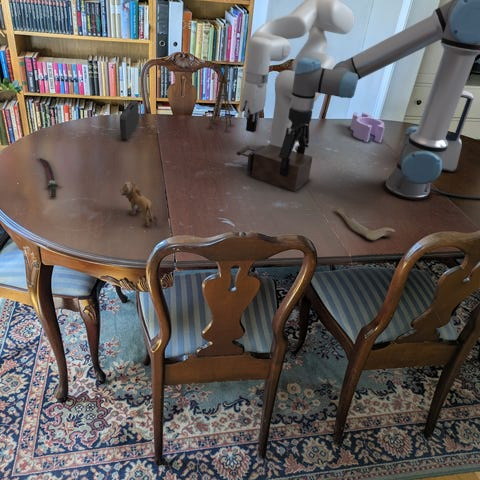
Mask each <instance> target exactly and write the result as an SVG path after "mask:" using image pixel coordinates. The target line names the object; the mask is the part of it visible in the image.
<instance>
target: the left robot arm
mask: <svg viewBox="0 0 480 480" xmlns="http://www.w3.org/2000/svg"><path fill="white" fill-rule="evenodd" d="M354 25H355V14H354V11H353V10H352V9H351V8H349V7H348V6H347V5H346V4H345V3H343V2H342V1H340V0H304V1H302V2H301V3H300V4H299V5H298V6H297V7H296V8H295V9H294V10H293V11H292V12H291V13H289V14H287V15H283V16H281V17H277V18H274V19H270V20H269V21H266V22H265V23H263V24H261V26H259V27H258V28H257V29H256V30H255V31H254V32H253V33H252V35H251V37H250V38H249V40H248V45H247V56H246V65H245V66H246V67H245V77H244V84H243V87H242V92H241V98H240V104H239V111H240V112H241V113H243V118H245V119H246V124H245V131H247V132H249V133H255V132H257V125H258V119H259V116H260V113H261V112H262V110H264V109H265V106H266V97H267V85H268V81H269V72H270V63H271V62H282V61H285V60H286V59H287V58H288V57H289V56H290V55H291V54H290V53H291V50H292V45H291V43H290V41H289V40H294V39H299V38H302V37H304V36H305V35H306V34H307V33H308V38H307V40H306V42H305V43H304V45H303V46H302V48H301V49H300V50H299V52H298V53H297V54H296V56H295V57H294V59H293V61H292V65H291V66H292V67H291V68H292V70H291V69H290V70H289V69H285V70H281V71H280V72H279V73H278V74H277V75H276V77H275V79H274V80H275V81H274V96H275V97H274V107H273V114H272V115H273V116H272V124H271V130H270V138H269V144H271V145H275V146H278V147H281V148H282V144H283V141H284V138H285V135H286V129H287V127H288V128H290V127H291V125H292V122H291V121H290V120H289V119H288V116H289V109H290V108H291V106H290V103H291V98H290V96H292V90H293V82H294V75H295V70H296V66H297V61H298V60H299V59H300V58H304V57H308V58H314V59H318V60H320V61H321V67H322V68H326V69H333V67H334V66H335V65H336V60H335V58H334V57H333V56H332V55H330V54H327V51H328V50H329V44H328V43H329V42H328V39H327V36H326V33H325V32H327V33H334V34H337V35H347V34H348V33H350V32H351V31H352V30H353V28H354ZM321 95H322V93H316V94H315V101H314V103H315V102H316V101H317V100H318V99H319V97H320V96H321ZM298 146H299V142H298V141H296V142H295V144H294V147H293V149H292V151H295V152H297V147H298Z"/></svg>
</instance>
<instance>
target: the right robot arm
mask: <svg viewBox="0 0 480 480" xmlns="http://www.w3.org/2000/svg"><path fill="white" fill-rule="evenodd" d="M439 41H440V45H441V47H442V49H443V52H442V54H441V58H440V60H439V64H438V65H437V66H438V67H437V70H436V73H435V76H434V79H433V82H432V85H431V88H430V91H429V94H428V96H427V99H426V102H425V106H424V108H423V111H422V114H421V117H420V120H419V123H418V125H414V126H413V125H412V126H409V127H408V128H407V130H406V132H405V134H404V139H403V142H402V146H401V149H400V152H399V156H398V159H397V163H396V166H395V168H394V169H393V171H392V172H391V173H390V172H388V174H387V175H388V177H387V179H386V181H385V184H384V185H385V186H384V187H385V189H386V190H387V191H388V193H390V194H391V195H394V196H396V197H398V198H401V199H405V200H409V201H424V200H427V198H428V197H429V195H430V193H431V192H435V193H437V194H440V195H444V196H448V197H454V198H459V199H469V200H480V196H472V195H464V194H463V195H462V194H457V193H450V192H445V191H442V190H440V189H436V188H434V187H431V183H432V182H434V181H436V180H437V179H438V178H439V176H440V175H441V173H442V171H443V170H442V160H443V157H444V155H445V152H446V149H447V147H448V142H447V140H446V138H445V137H446V135H448V132H449V130H450V126H451V123H452V121H453V119H454V116H455V113H456V110H457V109H458V105H459V102H460V100H461V98H462V97H461V94H462V92H463V91H464V89H465V87H466V84H467V81H468V78H469V76H470V73H471V70H472V68H473V65H474V63H475V59H476V57H477V56H478V55H480V0H449V1H448V2H446V3H445V4H443V5H441V6H439V7H437V8H435V9H434V10H433V12H432V13H431V15H430V16H427V17H426V18H424V19H422V20H420V21H418V22H417V23H414V24H412V25H410V26H409V27H407V28H404V29H403V30H401V31H399V32H396V33H395V34H394V35H391V36H389V37H387V38H386V39H384V40H381V41H380V42H378V43H376V44H374V45H372V46H370V47H368V48H365V50H362V51H361V52H358V53H356V54H355V55H353V56H351V57H350V58H347V59H346V60H341V61H339V62H337V63H335V66H334V67H333V69H326V68H322V67H321V61H320V60H318V59H314V58H308V57H304V58H300V59H299V60H298V61H297V66H296V70H295V75H294V82H293V90H292V96H290V98H291V103H290V106H291V108H290V109H289V116H288V119H289V120H290V121H291V122H292V125H291V127H290V128H288V127H287V129H286V135H285V138H284V141H283V144H282V148H281V151H280V154H279V157H280V158H282V160H281V167H280V173H279V175H282V176H285V177H287V175H288V169H289V163H290V158H289V157H290V154H291V152H292V149H293V147H294V144H295V142H299V146H297V147H296V152H298V153H302V154H306V153H305V152H306V149H308V148H309V143H310V124H311V121H312V117H313V110H314V106H315V102H316V101H315V94H316V93H321V95H322V94H323V95H327V96H333V97H338V98H341V99H352V98H354V96H355V93H356V90H357V86H358V81H359V80H361V79H363V78H365V77H367V76H369V75H371V74H373V73H375V72H377V71H379V70H382V69H383V68H386V67H387V66H390V65H392V64H394V63H396V62H398V61H400V60H401V59H404V58H406V57H408V56H410V55H412V54H414V53H416V52H419V51H420V50H423V49H425V48H427V47H428V46H431V45H433V44H435V43H436V42H439ZM314 101H315V102H314ZM389 174H390V175H389ZM477 197H478V198H477Z"/></svg>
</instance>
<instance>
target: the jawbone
mask: <svg viewBox="0 0 480 480" xmlns="http://www.w3.org/2000/svg"><path fill="white" fill-rule="evenodd" d="M334 210H335V212H336V213H337V214H338V215H339V216H341V217H342V219H343V220H344V222H345V223H346V225H347V226H348V227H349V229H351V230H352V231H354V233H356V234H358V235H360V236H363V237H364V238H366V239H367V240H369V241H377V240H378V239H380V238H381V237H384V238H388V237H389V236H390V232H391V233H392V232H393V233H395V232H396V229H395V228H392V227H381V228H379V229H368V228H367V227H365V226H363V225H362V224H360V223H359V222H357V221H356V219H355V218H353V217H352V218H350V217H348V216H347V215H346V213H345V212H344V211H343V210H342V209H341V208H340V207H338V208H334Z"/></svg>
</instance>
